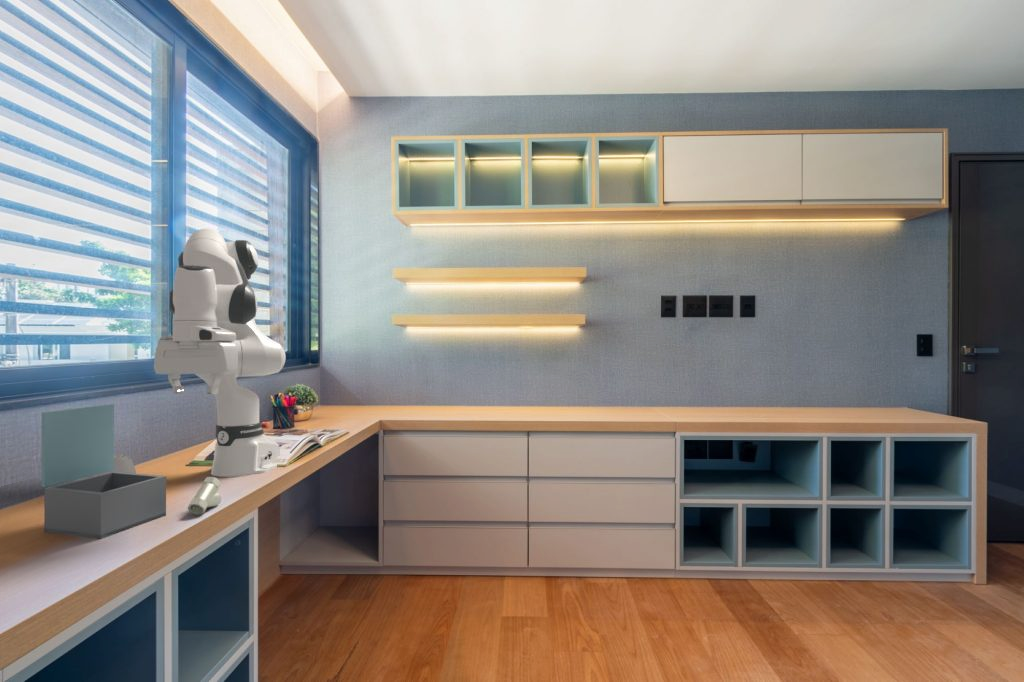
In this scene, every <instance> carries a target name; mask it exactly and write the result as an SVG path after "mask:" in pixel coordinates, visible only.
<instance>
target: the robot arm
mask: <svg viewBox="0 0 1024 682" xmlns="http://www.w3.org/2000/svg"><path fill="white" fill-rule="evenodd" d="M177 260H178V263H177V264H178V266H177V267H176V270H175V274H174V277H173V278H174V279H173V286H172V287H173V289H171V290H170V291H169V311H170V313H172V314H173V317H172V334H164V335H162V336H161V337H160V338H159V339H158V341H157V346H156V349H155V353H154V359H153V360H154V361H153V362H154V363H153V370H154V372H155V374H157V375H167V380H168V382H169V384H170V385H171V387H172V394H173V395H182V394H184V393H185V390H184V389H185V386H184V385H181V381H180V379H181V377H182V376H181V375H195V376H196V377H198V378H200V379H201V380H203V381H204V382H205V384H207V386H206V390H207V391H206V394H207V395H214V398H215V405H216V413H217V414H216V415H217V423H216V425H215V429H214V432H215V439H216V442H215V446H214V455H213V463H212V465H211V468H210V470H211V472H210V475H211V476H212V477H219V478H220V477H221V478H223V477H224V478H231V477H232V478H233V477H243V476H250V475H259V474H265V473H269V472H270V471H272V470H274V469H277V468H278V467H277V464H272V462H273V461H274V460H275V459H276V458H277V457H278V456H280V457H281V448H280V445H279V444H278V443H277V442H276V441H274V440H273V439H271V438H270V437H269V436H267V434H265V430H268V429H269V428H270V427H271V426H270V425H271V423H270V422H268V421H267V422H265V421H263V422H260V397H259V395H257V393H255V392H254V391H252V390H250V389H248V388H246V387H243V386H240V385H239V384H238V382H237V378H241V377H242V378H244V377H245V378H246V377H247V378H248V377H265V376H270V375H273V374H278V373H280V372H281V370H282V369H283V368H284V366H285V363H286V351H285V348H284V347H283V345H281V344H280V343H279V342H277V341H275V340H273V339H271V338H270V337H268V336H267V335H266V334H264V332H263V331H262V330H261V329H260V328H259V327H258V324H257V323H256V319H255V318H256V315H257V313H258V298H257V296H256V294H255V291H254V289H253V288H252V287H251V284H250V282H249V280H250V279H252V275H253V274H254V273H255V272H256V270H257V268H258V266H259V265H258V264H259V256H258V252H257V250H256V249H255V247H254V246H253V244H252V243H251V242H250V241H248V240H243V239H237V240H235V241H226V240H225V238H224V237H223V236H222V235H221V233H220V232H218V231H216V230H214V229H211V228H210V229H209V228H201V229H198V230H196V231H195V232H193V233H191V235H190V236H189V238H188V239H187V241H186V243H185V245H184V248H183V251H182V252H180V254H179V255H178V258H177ZM264 429H265V430H264ZM276 467H277V468H276Z"/></svg>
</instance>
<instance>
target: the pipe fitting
mask: <svg viewBox="0 0 1024 682" xmlns="http://www.w3.org/2000/svg"><path fill="white" fill-rule="evenodd" d="M221 483H222V482H221V481H220V480H219V478H217V477H216V476H206V478H205V479H204V480H203V482H202V484H201V486H200V487H199V489H198V490H197V492H196V494H195V496H194V497H193V498H192V499H191V501H190V502H189V503H188V505H187V511H189V512H190V513H191V514H193V515H196V516H197V515H198V516H199V515H204V513H205V511H206V510H207V509H209V508H214V507H218V506H219V505H220V504H221V501H222V496H221V494H220V493H218V490H219V488H220V486H221Z"/></svg>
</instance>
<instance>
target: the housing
mask: <svg viewBox="0 0 1024 682" xmlns="http://www.w3.org/2000/svg"><path fill="white" fill-rule="evenodd" d="M43 503H44V505H43V506H44V515H43V516H44V519H43V520H44V522H43V523H44V526H43V528H44V533H48V534H55V535H64V536H73V537H79V538H80V537H82V538H88V539H96V540H103V539H106V538H109V537H111V536H113V535H116V534H119V533H122V532H124V531H127V530H130V529H133V528H137V527H138V526H142V525H143V524H147V523H149V522H152V521H155V520H158V519H160V518H163V517H166V516H167V476H166V475H159V474H157V475H155V474H147V473H146V474H145V473H137V472H136V473H125V472H110V473H106V474H102V475H95V476H93V477H89V478H85V479H81V480H77V481H76V480H72V481H68V482H64V483H60V484H55V485H51V486H47V487H44V502H43Z"/></svg>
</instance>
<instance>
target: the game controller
mask: <svg viewBox="0 0 1024 682" xmlns="http://www.w3.org/2000/svg"><path fill="white" fill-rule="evenodd" d="M110 472H125V473H136V474H137V471H136V467H135V463H134V462H133V460H132V458H131V457H130V456H129V455H127V454H124V453H115V454H114V470H113V471H108V472H104V473H100V474H96V475H92V476H88V477H84V478H79V479H75V481H77V480H81V479H85V478H89V477H93V476H98V475H102V474H106V473H110Z"/></svg>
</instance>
